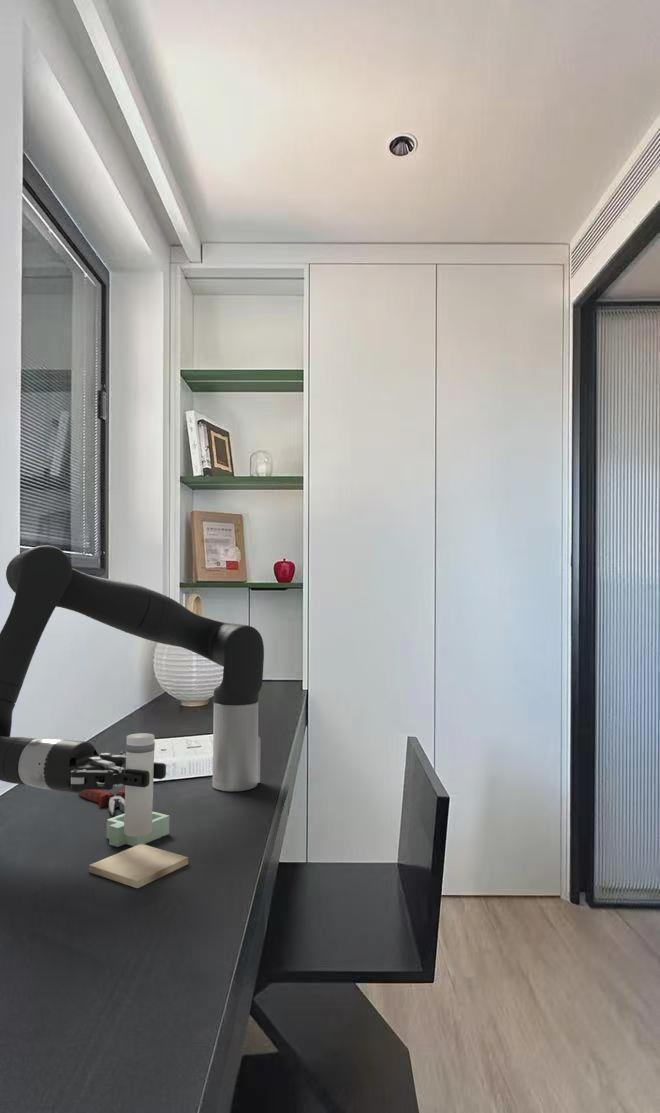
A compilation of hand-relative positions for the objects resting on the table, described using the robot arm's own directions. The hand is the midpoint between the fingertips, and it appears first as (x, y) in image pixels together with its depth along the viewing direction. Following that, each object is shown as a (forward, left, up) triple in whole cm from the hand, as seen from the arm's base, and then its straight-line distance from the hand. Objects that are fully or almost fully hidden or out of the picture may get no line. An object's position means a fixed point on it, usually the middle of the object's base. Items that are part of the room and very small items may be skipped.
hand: (156, 775), depth 104 cm
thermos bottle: (+1, -3, -8) cm, 9 cm away
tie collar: (-8, -13, -14) cm, 20 cm away
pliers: (-18, -32, -15) cm, 40 cm away
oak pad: (+1, -3, -14) cm, 14 cm away
